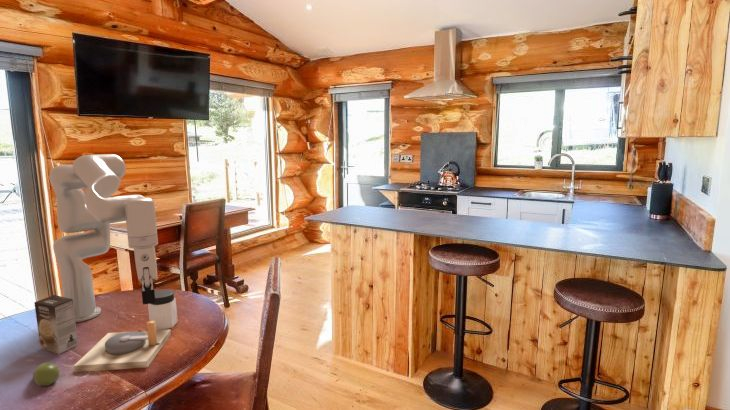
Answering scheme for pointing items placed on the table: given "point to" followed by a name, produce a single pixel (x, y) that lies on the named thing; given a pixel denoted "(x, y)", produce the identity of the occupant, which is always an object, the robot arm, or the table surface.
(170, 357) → the table surface
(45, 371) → the pear
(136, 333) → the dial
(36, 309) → the coffee box
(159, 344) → the board
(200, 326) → the table surface
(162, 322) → the jar
